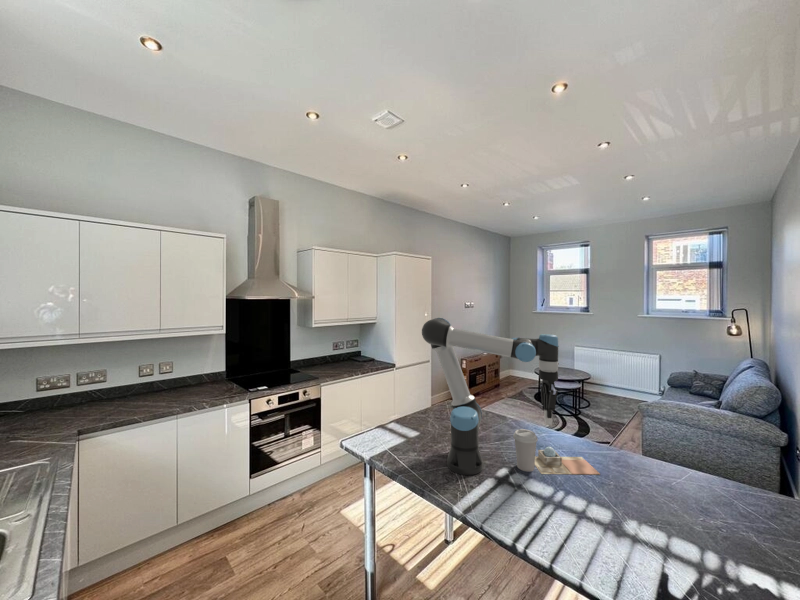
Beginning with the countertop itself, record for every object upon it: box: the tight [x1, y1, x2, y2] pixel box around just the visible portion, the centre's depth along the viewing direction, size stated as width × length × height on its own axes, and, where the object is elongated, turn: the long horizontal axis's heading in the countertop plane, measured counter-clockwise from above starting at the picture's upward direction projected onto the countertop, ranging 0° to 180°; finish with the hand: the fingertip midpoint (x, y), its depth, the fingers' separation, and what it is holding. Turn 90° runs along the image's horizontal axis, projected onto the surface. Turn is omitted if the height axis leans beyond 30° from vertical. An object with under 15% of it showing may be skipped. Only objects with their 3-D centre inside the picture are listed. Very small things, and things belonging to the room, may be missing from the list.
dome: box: [543, 446, 556, 457], centre depth 135 cm, size 4×4×5 cm
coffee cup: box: [512, 428, 539, 473], centre depth 131 cm, size 10×10×15 cm
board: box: [534, 449, 601, 476], centre depth 132 cm, size 23×14×4 cm, turn 87°
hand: (548, 424), depth 136 cm, fingers closed
